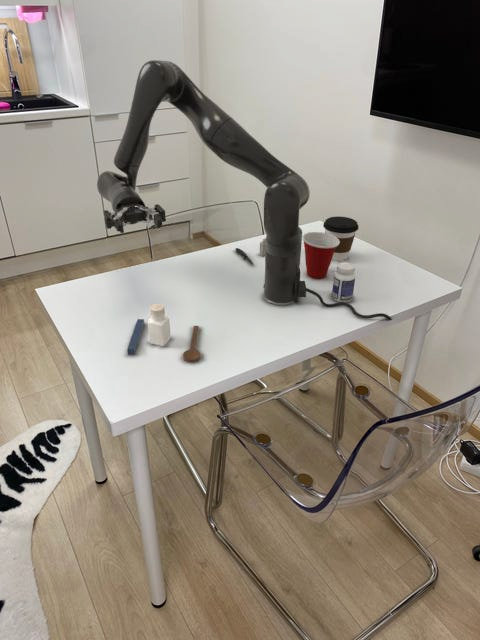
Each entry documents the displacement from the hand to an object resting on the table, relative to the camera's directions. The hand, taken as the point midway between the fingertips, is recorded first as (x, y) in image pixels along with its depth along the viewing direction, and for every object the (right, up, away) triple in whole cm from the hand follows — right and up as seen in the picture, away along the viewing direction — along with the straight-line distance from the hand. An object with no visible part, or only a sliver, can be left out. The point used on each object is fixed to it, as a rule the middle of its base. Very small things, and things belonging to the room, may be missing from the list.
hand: (140, 226), depth 113 cm
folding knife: (+24, -2, +44) cm, 51 cm away
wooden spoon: (+12, -27, +4) cm, 30 cm away
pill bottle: (+51, -16, +23) cm, 58 cm away
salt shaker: (+4, -27, +5) cm, 27 cm away
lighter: (+32, +1, +49) cm, 58 cm away
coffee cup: (+54, -1, +46) cm, 71 cm away
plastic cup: (+46, -8, +35) cm, 59 cm away
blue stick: (-2, -26, +5) cm, 27 cm away
